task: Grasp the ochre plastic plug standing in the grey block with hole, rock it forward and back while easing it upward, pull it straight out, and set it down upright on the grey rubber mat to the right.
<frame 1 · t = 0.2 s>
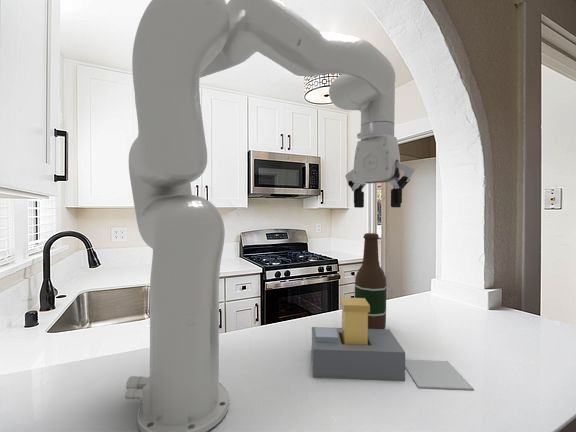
hand: (376, 207, 69), 30 cm above the counter, tool pointing down, fingers open, 9 cm apart
grey block with hole: (353, 364, 57), on the counter
beer bottle: (370, 329, 74), on the counter
plug: (353, 364, 57), resting in grey block with hole
mat: (434, 374, 53), on the counter
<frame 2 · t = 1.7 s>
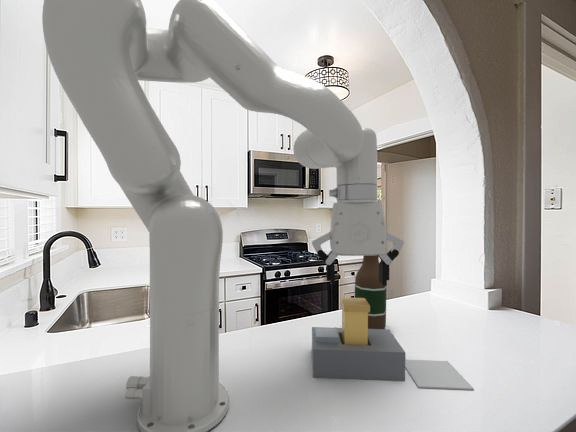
hand: (357, 284, 57), 15 cm above the counter, tool pointing down, fingers open, 9 cm apart
nothing on the counter moved.
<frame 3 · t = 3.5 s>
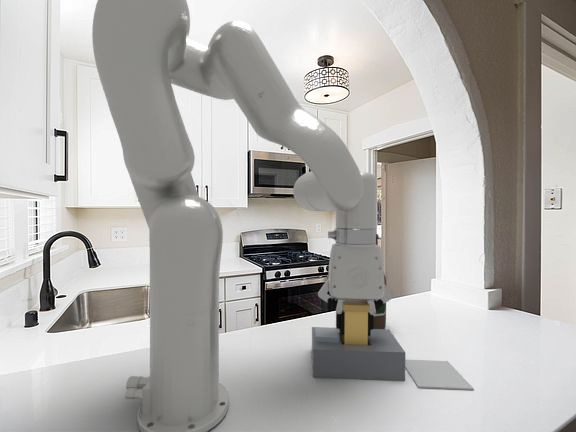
hand: (354, 331, 57), 6 cm above the counter, tool pointing down, fingers closed on plug, 4 cm apart
plug: (353, 364, 57), resting in grey block with hole, touching gripper
everything else where it was.
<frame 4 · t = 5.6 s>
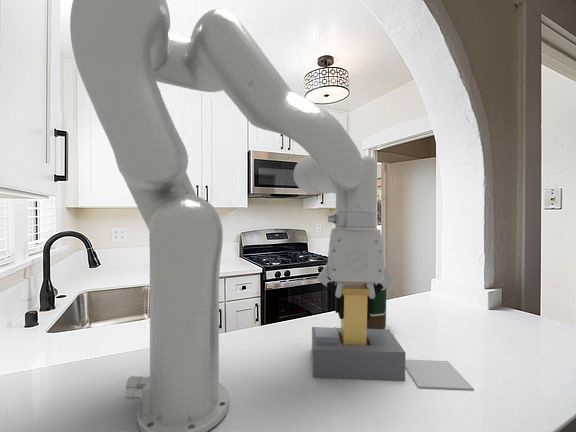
hand: (353, 315, 57), 9 cm above the counter, tool pointing down, fingers closed on plug, 4 cm apart
plug: (352, 348, 57), point 3 cm above the counter, touching gripper
everything else where it was.
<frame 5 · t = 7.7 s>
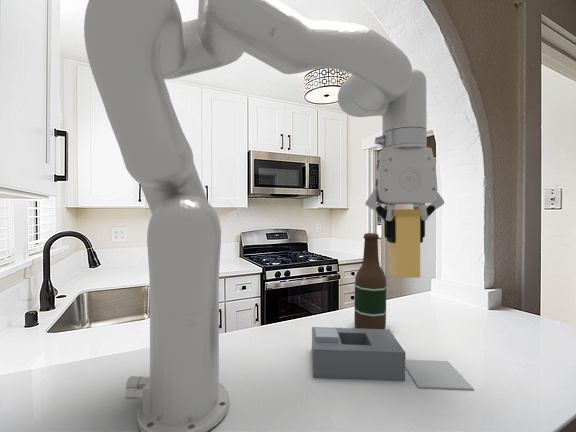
hand: (404, 240, 55), 24 cm above the counter, tool pointing down, fingers closed on plug, 4 cm apart
plug: (404, 274, 55), point 18 cm above the counter, touching gripper
everything else where it was.
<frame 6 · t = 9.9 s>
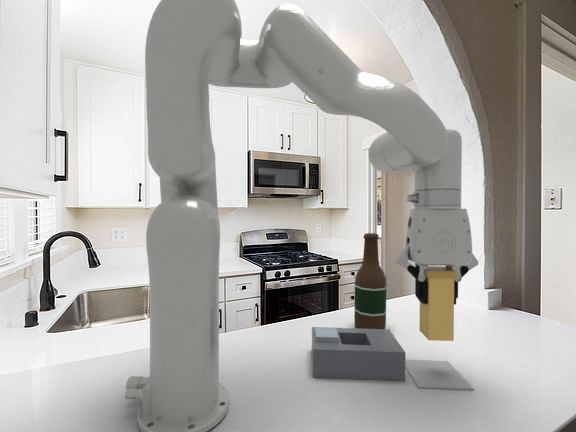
hand: (436, 300, 53), 13 cm above the counter, tool pointing down, fingers closed on plug, 4 cm apart
plug: (435, 335, 53), point 7 cm above the counter, touching gripper
everything else where it was.
when the fingers open (8 cm above the counter, at t = 11.8 s): plug stays where it is, resting on mat.
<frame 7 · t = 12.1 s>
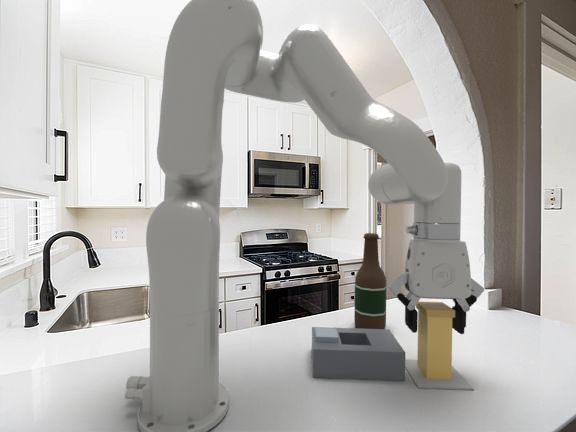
hand: (434, 329, 53), 8 cm above the counter, tool pointing down, fingers open, 7 cm apart
plug: (433, 372, 54), resting on mat
everything else where it was.
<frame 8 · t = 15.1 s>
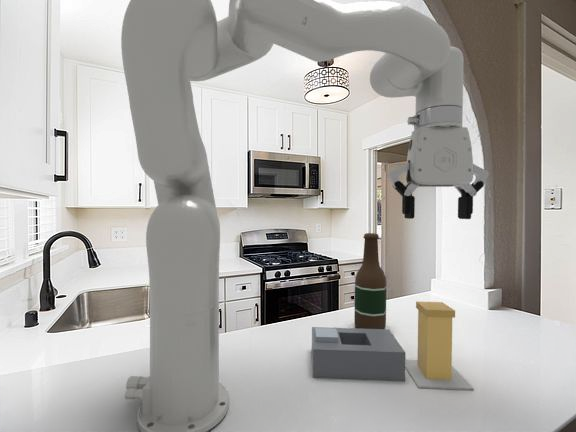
hand: (436, 218, 53), 28 cm above the counter, tool pointing down, fingers open, 9 cm apart
nothing on the counter moved.
at the end: plug inside the target area on the mat (0.1 cm from its centre), point 0.3 cm above the mat's base; plug tilted 0°; the gripper is holding nothing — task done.
